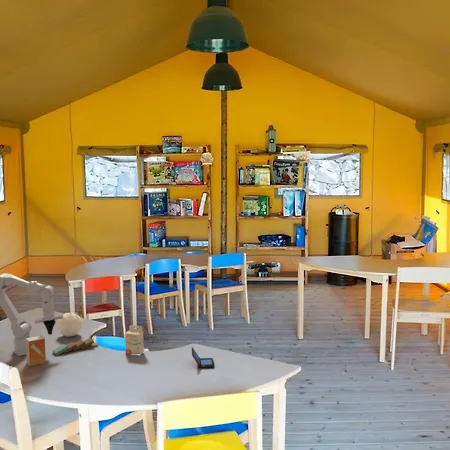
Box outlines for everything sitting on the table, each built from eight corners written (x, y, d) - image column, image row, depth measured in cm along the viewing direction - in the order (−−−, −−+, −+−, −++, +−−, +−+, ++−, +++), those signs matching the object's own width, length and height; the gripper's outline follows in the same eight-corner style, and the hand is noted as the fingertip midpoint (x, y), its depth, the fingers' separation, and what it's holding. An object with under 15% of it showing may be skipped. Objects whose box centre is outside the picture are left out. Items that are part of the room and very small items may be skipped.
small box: (29, 366, 281) (28, 341, 279) (26, 363, 286) (25, 338, 284) (46, 363, 285) (45, 338, 284) (42, 359, 290) (41, 335, 289)
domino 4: (81, 346, 305) (93, 340, 308) (78, 344, 309) (90, 337, 312) (82, 349, 305) (94, 342, 308) (79, 346, 309) (91, 339, 312)
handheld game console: (214, 368, 275) (214, 354, 274) (192, 369, 274) (191, 354, 273) (213, 359, 287) (212, 345, 286) (191, 360, 286) (191, 346, 285)
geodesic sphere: (76, 319, 342) (64, 304, 334) (92, 323, 334) (80, 307, 325) (61, 339, 333) (48, 324, 325) (77, 343, 325) (64, 328, 317)
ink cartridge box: (125, 354, 296) (124, 327, 294) (129, 351, 301) (128, 324, 299) (139, 356, 293) (138, 328, 292) (144, 353, 298) (143, 326, 296)
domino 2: (64, 351, 299) (75, 344, 302) (60, 348, 303) (72, 341, 306) (65, 353, 299) (77, 346, 303) (61, 351, 303) (73, 344, 307)
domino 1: (55, 353, 296) (67, 346, 299) (52, 350, 300) (64, 343, 303) (56, 355, 296) (68, 348, 300) (53, 353, 300) (65, 346, 304)
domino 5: (85, 347, 306) (97, 344, 310) (82, 345, 310) (94, 342, 314) (85, 350, 306) (98, 347, 310) (82, 347, 310) (94, 345, 314)
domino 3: (73, 349, 302) (84, 341, 305) (69, 346, 306) (80, 339, 309) (74, 351, 302) (85, 344, 306) (70, 349, 306) (82, 341, 310)
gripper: (37, 313, 290) (39, 338, 291) (64, 308, 299) (66, 332, 300) (32, 310, 295) (34, 335, 297) (59, 305, 304) (61, 330, 306)
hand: (50, 334), depth 299 cm, fingers closed
